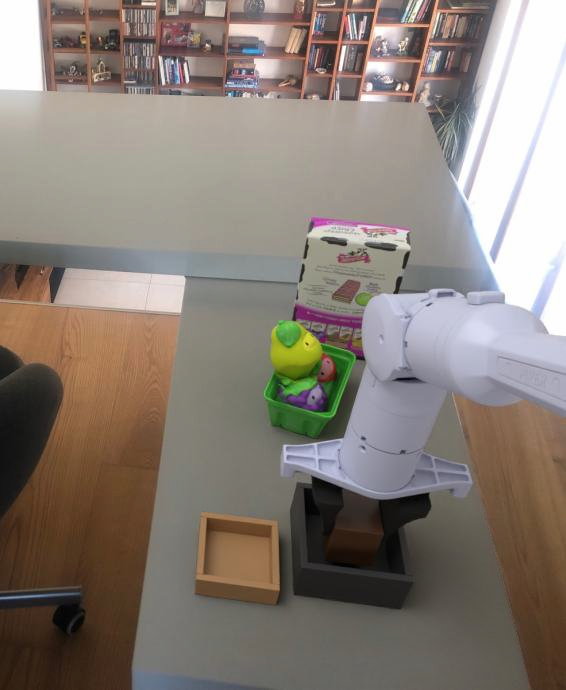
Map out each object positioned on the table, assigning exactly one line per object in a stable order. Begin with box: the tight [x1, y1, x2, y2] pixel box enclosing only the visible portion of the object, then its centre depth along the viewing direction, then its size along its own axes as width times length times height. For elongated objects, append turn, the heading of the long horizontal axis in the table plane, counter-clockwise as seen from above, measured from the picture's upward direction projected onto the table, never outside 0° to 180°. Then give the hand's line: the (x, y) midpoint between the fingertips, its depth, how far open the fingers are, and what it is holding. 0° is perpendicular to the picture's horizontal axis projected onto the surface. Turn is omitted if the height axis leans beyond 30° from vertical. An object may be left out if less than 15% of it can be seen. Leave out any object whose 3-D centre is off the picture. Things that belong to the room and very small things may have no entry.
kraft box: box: [193, 511, 281, 606], centre depth 64 cm, size 7×7×2 cm
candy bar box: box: [290, 216, 412, 360], centre depth 83 cm, size 11×5×16 cm, turn 73°
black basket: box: [289, 481, 415, 610], centre depth 63 cm, size 9×9×4 cm
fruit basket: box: [263, 319, 357, 439], centre depth 76 cm, size 11×9×11 cm
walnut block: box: [323, 492, 384, 566], centre depth 62 cm, size 4×4×5 cm
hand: (351, 529), depth 62 cm, fingers closed on walnut block, 4 cm apart
